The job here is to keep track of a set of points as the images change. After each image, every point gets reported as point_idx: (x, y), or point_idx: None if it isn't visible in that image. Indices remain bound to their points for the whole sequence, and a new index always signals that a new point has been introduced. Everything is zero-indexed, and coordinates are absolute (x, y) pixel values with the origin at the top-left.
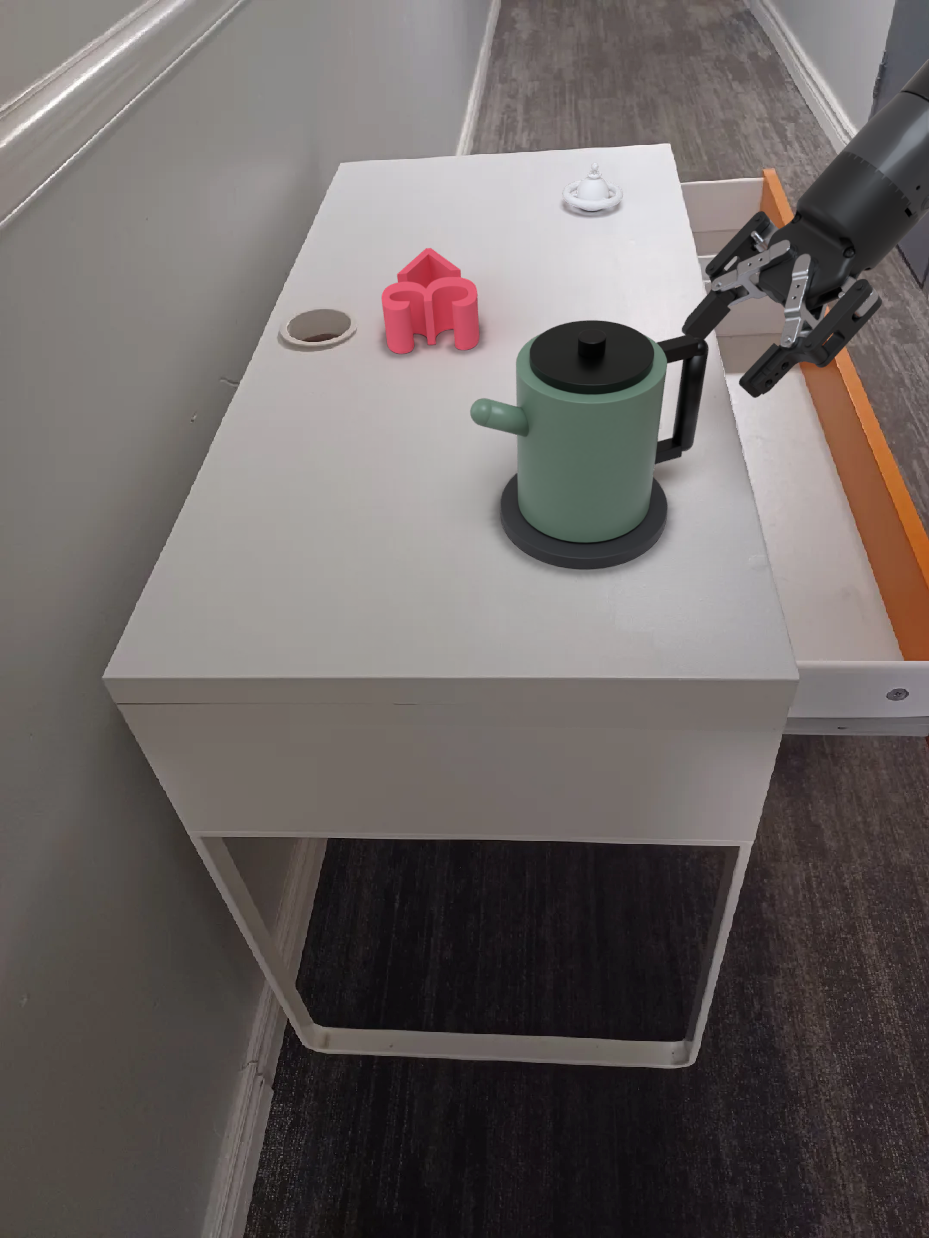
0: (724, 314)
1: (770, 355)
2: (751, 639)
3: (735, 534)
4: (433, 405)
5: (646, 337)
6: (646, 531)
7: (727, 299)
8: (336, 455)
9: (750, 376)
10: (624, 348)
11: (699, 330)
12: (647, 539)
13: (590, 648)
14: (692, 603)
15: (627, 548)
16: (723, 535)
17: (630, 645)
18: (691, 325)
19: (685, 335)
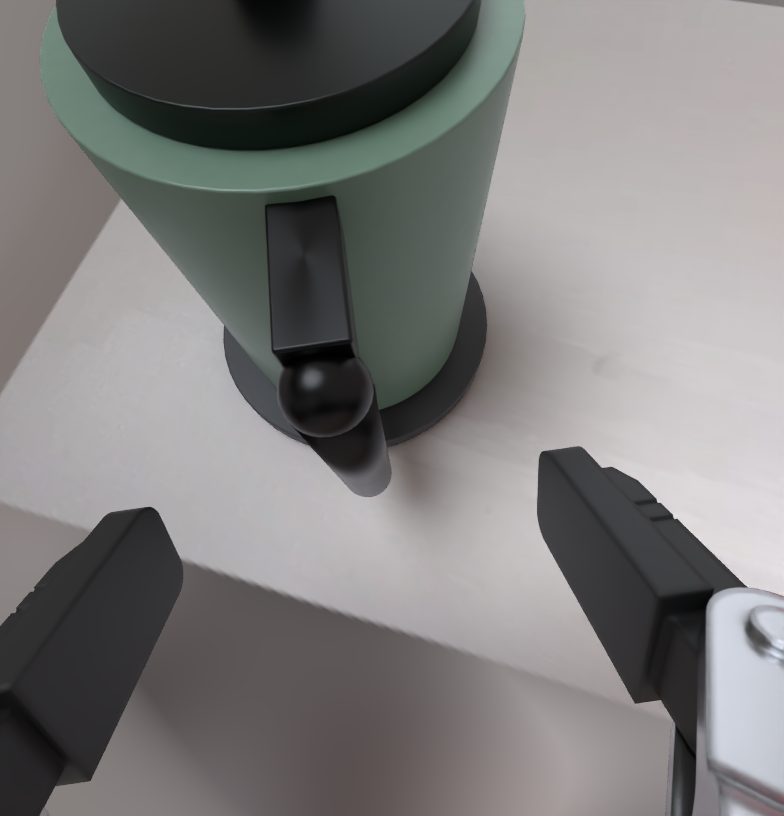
0: (614, 654)
1: (11, 635)
2: (22, 464)
3: (222, 539)
4: (683, 192)
5: (275, 103)
6: (252, 384)
7: (676, 689)
8: (569, 79)
9: (92, 533)
10: (233, 29)
11: (556, 515)
12: (234, 379)
13: (114, 274)
14: (120, 413)
15: (228, 346)
16: (228, 517)
17: (95, 316)
18: (557, 467)
19: (344, 319)
